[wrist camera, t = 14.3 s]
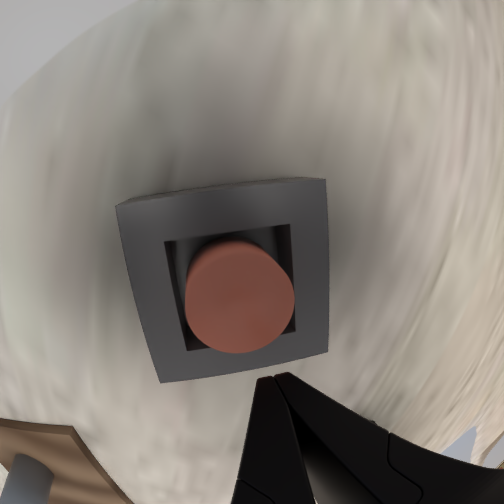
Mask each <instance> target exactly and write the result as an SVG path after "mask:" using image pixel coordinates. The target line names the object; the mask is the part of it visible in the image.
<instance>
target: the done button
mask: <svg viewBox="0 0 504 504" xmlns="http://www.w3.org/2000/svg"><path fill="white" fill-rule="evenodd" d="M294 302H295V297H294V290H293V286H292V283H291V281H290V279H289V277H288V276H287V274H286V273H285V272H284V270H283V269H282V268H281V267H280V266H279V265H278V264H277V263H276V262H275V261H274V259H273V258H272V257H271V256H270V255H269V254H268V253H267V252H266V251H265V250H264V249H263V248H262V247H261V246H260V245H259V244H257V243H256V242H254V241H252V240H250V239H247V238H243V237H238V236H228V237H222V238H218V239H215V240H213V241H211V242H209V243H207V244H206V245H204V246H203V247H202V248H200V249H199V250H198V251H197V253H196V254H195V255H194V256H193V258H192V259H191V261H190V263H189V266H188V269H187V273H186V290H185V312H186V318H187V321H188V324H189V326H190V328H191V330H192V331H193V333H194V334H195V335H196V336H197V338H198V339H199V340H201V341H202V342H203V343H204V344H206V345H207V346H209V347H211V348H213V349H215V350H218V351H222V352H226V353H246V352H251V351H254V350H257V349H260V348H262V347H264V346H266V345H268V344H269V343H271V342H272V341H273V340H275V339H276V338H277V337H278V336H279V335H280V334H281V333H282V332H283V331H284V329H285V328H286V326H287V325H288V323H289V321H290V319H291V317H292V313H293V310H294Z"/></svg>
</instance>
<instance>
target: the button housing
mask: <svg viewBox="0 0 504 504" xmlns="http://www.w3.org/2000/svg"><path fill="white" fill-rule="evenodd" d="M115 207H116V213H117V219H118V225H119V231H120V236H121V241H122V246H123V251H124V256H125V261H126V265H127V270H128V274H129V278H130V283H131V287H132V291H133V295H134V299H135V303H136V306H137V310H138V314H139V318H140V321H141V325H142V328H143V332H144V335H145V338H146V342H147V345H148V348H149V351H150V354H151V357H152V361H153V364H154V367H155V370H156V373H157V375H158V378H159V381H160V383H168V382H176V381H184V380H192V379H199V378H206V377H213V376H219V375H225V374H231V373H236V372H242V371H247V370H252V369H258V368H262V367H267V366H272V365H277V364H281V363H286V362H290V361H294V360H298V359H303V358H307V357H311V356H315V355H318V354H322V353H326V352H328V338H329V239H328V213H327V194H326V179H319V178H308V177H295V178H283V179H272V180H262V181H252V182H243V183H235V184H226V185H218V186H210V187H203V188H196V189H189V190H182V191H175V192H169V193H162V194H156V195H150V196H144V197H138V198H133V199H129V200H127V201H124V202H122V203H120V204H118V205H116V206H115ZM228 236H238V237H243V238H247V239H250V240H252V241H254V242H256V243H257V244H259V245H260V246H261V247H262V248H263V249H264V250H265V251H266V252H267V253H268V254H269V255H270V256H271V257H272V258H273V259H274V261H275V262H276V263H277V264H278V265H279V266H280V267H281V268H282V269H283V270H284V272H285V273H286V274H287V276H288V277H289V279H290V281H291V283H292V286H293V290H294V297H295V302H294V310H293V313H292V317H291V319H290V321H289V323H288V325H287V326H286V328H285V329H284V331H283V332H282V333H281V334H280V335H279V336H278V337H277V338H276V339H275V340H273V341H272V342H271V343H269V344H268V345H266V346H264V347H262V348H260V349H257V350H254V351H251V352H246V353H226V352H222V351H218V350H215V349H213V348H211V347H209V346H207V345H206V344H204V343H203V342H202V341H201V340H199V339H198V338H197V336H196V335H195V334H194V333H193V331H192V330H191V328H190V326H189V324H188V321H187V318H186V312H185V290H186V273H187V269H188V266H189V263H190V261H191V259H192V258H193V256H194V255H195V254H196V253H197V251H198V250H199V249H200V248H202V247H203V246H204V245H206V244H207V243H209V242H211V241H213V240H215V239H218V238H222V237H228Z"/></svg>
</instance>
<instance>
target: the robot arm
mask: <svg viewBox="0 0 504 504" xmlns="http://www.w3.org/2000/svg"><path fill="white" fill-rule="evenodd" d="M237 479H238V480H236V484H235V489H234V493H233V497H232V501H231V504H316V503H315V499H316V501H317V503H318V504H504V469H494V468H486V467H481V466H478V465H474V464H470V463H467V462H463V461H460V460H457V459H454V458H450V457H447V456H444V455H441V454H438V453H436V452H433V451H430V450H428V449H425V448H422V447H420V446H418V445H416V444H413V443H411V442H409V441H407V440H405V439H403V438H401V437H399V436H397V435H395V434H393V433H389V431H387V430H386V429H384V428H382V427H380V426H378V425H377V424H376V423H375V422H374V421H372V422H371V421H369V420H367V419H366V418H364V417H362V416H360V415H359V414H357V413H355V412H353V411H352V410H350V409H348V408H346V407H345V406H343V405H341V404H340V403H338V402H336V401H335V400H333V399H331V398H330V397H328V396H326V395H325V394H323V393H322V392H320V391H318V390H317V389H315V388H313V387H312V386H310V385H309V384H307V383H306V382H304V381H302V380H301V379H299V378H298V377H296V376H295V375H293V374H291V373H290V372H285V373H281V374H276V375H274V377H273V376H267V377H262V378H258V379H257V382H256V387H255V392H254V397H253V403H252V408H251V413H250V418H249V423H248V428H247V433H246V438H245V443H244V448H243V453H242V457H241V462H240V467H239V471H238V476H237ZM313 495H314V496H313ZM314 497H315V499H314Z"/></svg>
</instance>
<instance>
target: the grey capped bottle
mask: <svg viewBox="0 0 504 504" xmlns="http://www.w3.org/2000/svg"><path fill="white" fill-rule="evenodd" d="M53 478H54V475H53V473H52V472H51V470H50V469H49V468H48V467H47V466H45V465H44V464H43V463H41V462H40V461H38V460H36V459H34V458H32V457H30V456H28V455H25V454H16V455H15V457H14V460H13V462H12V465H11V468H10V470H9V473H8V476H7V479H6V482H5V485H4V488H3V491H2V494H1V497H0V504H48V500H49V495H50V491H51V486H52V482H53Z"/></svg>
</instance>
